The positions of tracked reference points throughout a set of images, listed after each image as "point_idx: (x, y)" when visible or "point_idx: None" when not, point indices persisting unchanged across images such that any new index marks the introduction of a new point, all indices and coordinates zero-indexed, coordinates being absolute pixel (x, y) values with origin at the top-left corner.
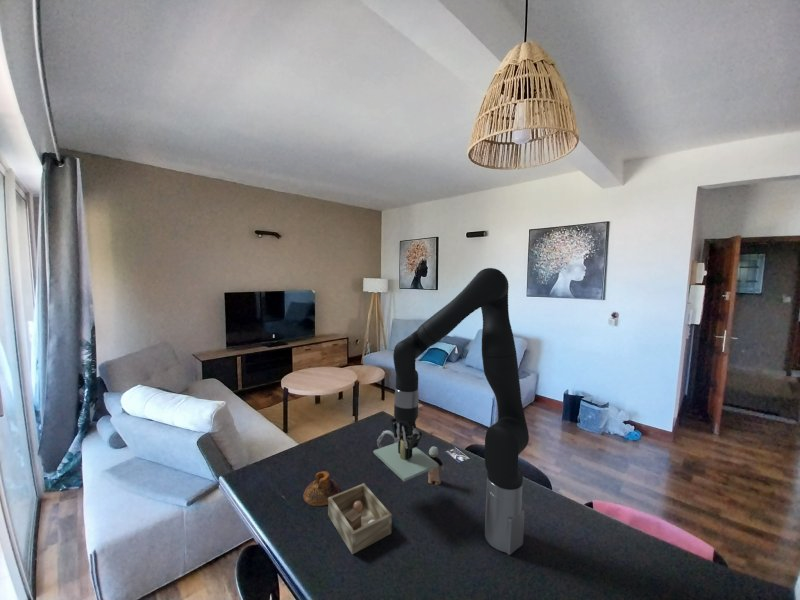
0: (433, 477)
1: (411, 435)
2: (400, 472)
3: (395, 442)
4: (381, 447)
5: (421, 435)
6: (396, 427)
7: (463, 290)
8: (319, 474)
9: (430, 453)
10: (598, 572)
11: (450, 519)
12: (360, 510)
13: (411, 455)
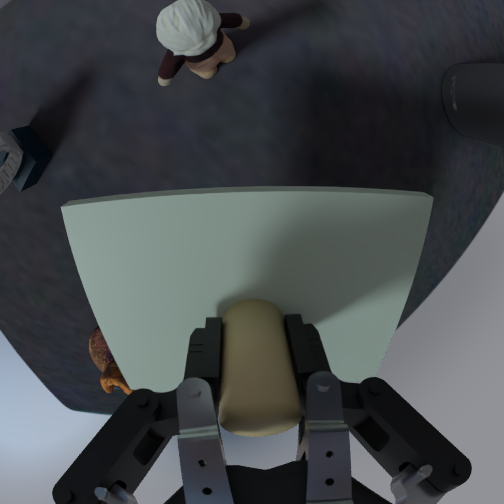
0: (216, 60)
1: (321, 451)
2: (338, 377)
3: (4, 146)
4: (1, 179)
5: (465, 459)
6: (135, 472)
7: None
8: (110, 389)
9: (192, 51)
10: None
11: (377, 139)
12: None
13: (318, 338)
